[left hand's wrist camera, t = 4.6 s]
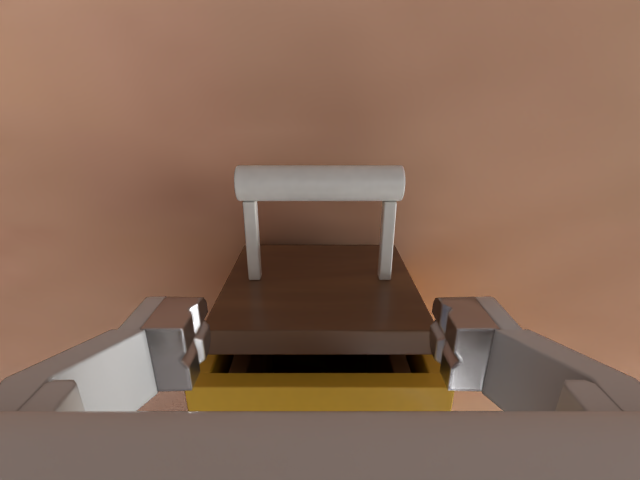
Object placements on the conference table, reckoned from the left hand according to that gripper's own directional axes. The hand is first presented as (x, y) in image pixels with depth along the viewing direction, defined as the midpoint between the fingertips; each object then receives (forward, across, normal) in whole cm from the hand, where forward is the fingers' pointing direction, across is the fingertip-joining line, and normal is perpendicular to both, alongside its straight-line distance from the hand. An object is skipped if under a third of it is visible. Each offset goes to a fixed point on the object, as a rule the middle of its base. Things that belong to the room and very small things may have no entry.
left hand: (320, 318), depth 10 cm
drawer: (+13, 0, +9) cm, 16 cm away
